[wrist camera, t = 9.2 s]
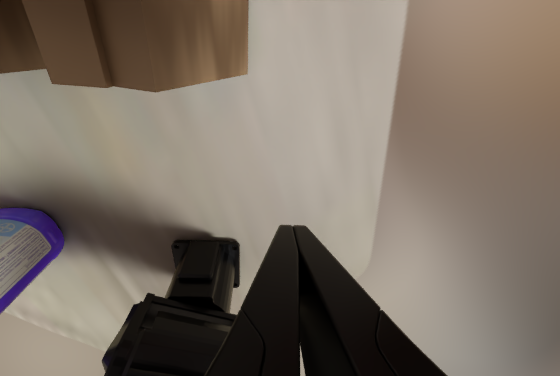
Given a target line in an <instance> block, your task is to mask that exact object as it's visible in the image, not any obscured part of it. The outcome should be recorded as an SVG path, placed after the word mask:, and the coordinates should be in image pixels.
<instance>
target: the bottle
mask: <svg viewBox="0 0 560 376" xmlns="http://www.w3.org/2000/svg"><path fill="white" fill-rule="evenodd" d="M63 246H64V237H63V234H62V232H61V230H60V229H59V228H58V226H57V224H56V223H55V222H54V221H53V220H52V219H51V218H50V217H49V216H48V215H46V214H45V213H43V212H42V211H38V210H34V209H27V208H2V209H0V314H1V313H2V312H3V311H4V310H5V309H6V308H7V307H8V306H9V305H10V304H11V303H12V302H13V301H14V300H15V299H16V298H17V297H18V296H19V294H20V293H21V292H22V291H23V290H24V289H25V288H26V287H27V286H28V285H29V284H30V283H31V282H32V281H33V280H34V279H35V278H36V277H37V276H38V275H39V274H40V273H41V272H42V271H43V270H44V269H45V268H46V267H47V266H48V265H49V264H50V263H51V262H52V261H53V260H54V259H55V258H56V257H57V256H58V255H59V253H60V252H61V250H62V248H63Z"/></svg>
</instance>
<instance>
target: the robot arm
mask: <svg viewBox="0 0 560 376" xmlns="http://www.w3.org/2000/svg"><path fill="white" fill-rule="evenodd" d="M177 245H178V246H177ZM233 246H235V247H233ZM171 247H172V252H173V257H174V262H175V267H176V271H175V273H174V276H173V278H172V281H171V284H170V286H169V289H168V291H167V294H166V296H165V298H163V297H158V296H154V295H155V294H151V293H147V295H146V297H145V299H144V301H143V302H142V301H141V302H140V303H138V304H134V305H133V307H132V309H131V311H130V313H129V315H128V317H127V319H126V321H125V322H124V324H123V326H122V328H121V329H120V331H119V332H118V334H117V336H116V337H115V339H114V340H113V342H112V343H111V345H110V346H109V348H108V349H107V351H106V353H105V355H104V357H103V359H102V364H103V367H104V370H105V372H106V373H105V375H104V376H300V346H301V352H302V358H303V364H304V369H305V375H306V376H447V375H446V374H445V373H444V372H443V371H442V370H441V369H440V368H439V367H438V366H437V365H436V364H435V363H434V362H433V361H431V359H429V358H428V357H427V356H426V355H425V354H424V353H423V352H422V351H421V350H420V349H419V348H418V347H417V346H416V345H415V344H414V343H413V342H412V341H411V340H410V339H409V338H408V337H407V336H406V335H405V333H403V331H402V330H401V329H400V328H399V327H398V326H397V325H396V324H395V323H394V322H393V321H392V320H391V319H390V318H389V316H388V315H387V314H386V313H385V312H384V311H383V310H380V307H379V306H378V304H376V303H375V301H374V300H373V299H372V298H371V297H370V296H369V295H368V294H367V292H366V291H365V290H364V289H363V288H362V287H361V286H360V285H359V284H358V283H357V282H356V280H355V279H354V278H353V277H352V276H351V275H350V274H349V273H348V272H347V270H346V269H345V268H344V267H343V266H342V265H341V264H340V263H339V262H338V261H337V259H336V258H335V257H334V256H333V255H332V254H331V253H330V252H329V251H328V250H327V249H326V247H325V246H324V245H323V244H322V243H321V242H320V241H319V240H318V239H317V238H316V236H315V235H314V234H313V233H312V232H311V231H310V230H309V229H308V228H307V227H306V226H304V225H294V226H293V227H292V226H291V225H280V226H279V227H278V230H277V232H276V234H275V236H274V238H273V240H272V242H271V244H270V247H269V249H268V251H267V253H266V255H265V257H264V259H263V261H262V264H261V266H260V268H259V270H258V272H257V274H256V276H255V278H254V281H253V283H252V285H251V287H250V289H249V291H248V293H247V295H246V298H245V300H244V302H243V304H242V306H241V310H240V311H239V312H238V314H237V315H235V314H231V313H230V306H231V298H232V291H233V288H237V287H239V285H240V245H239V243H238V242H232V241H192V240H175V241H174V242H173V243H172V246H171Z"/></svg>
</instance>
